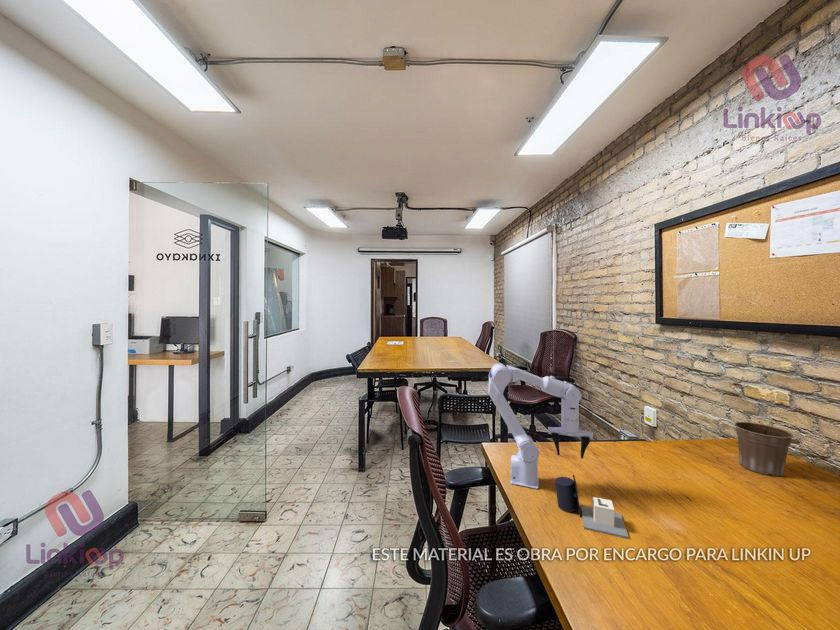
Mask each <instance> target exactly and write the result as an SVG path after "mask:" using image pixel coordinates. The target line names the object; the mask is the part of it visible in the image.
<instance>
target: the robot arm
mask: <svg viewBox="0 0 840 630" xmlns="http://www.w3.org/2000/svg"><path fill="white" fill-rule="evenodd" d="M518 381H521V382H522V381H523V382H525V383H528V384H531V385H534V386H538V387H539V389H540V391H541V392H543V393H546V394H548V395H552V396H554V397H557V398H561V405H560V407H561V410H560V411H561V415H560V417H561V423H560V424H561V426H559V427H558V426H557V427H555V426H554V427H553V426H548V427H547V428H548V429H547V430H548V431H547V432H548V433H547V434H549V435H551V439H552V442H553V443H554V446H555V449H556V455H557V456H560V436H568V437H576V438H578V437H579V438H580V459H584V456H585V453H586V450H587V448H588V447H589V444H590V442H591V441H590V440H594V433H593V431H589V430H588V431H587V430H583V429H580V425H579V424H580V410H579V409H580V407H579V406H580V405H579V403H580V401H581V400H582V396H583V395H582V394H581V390H580V389H579V387H576V386H575V385H573V384H572V383H569V382H568V381H566V380H563V381H562V380H560V379H559V380H558V379H557V378H556V377H555V376H553V375H550V376H548V375H546V376H544V377H540V376H538V375H535V374H533V373H531V372H528V371H526V370H523V369H520V368H518V367H515V366H512V365H507V364H506V365H505V364H504V363H500V362H498V363H495V364H493V365H492V366H491V368H490V371H489V373H488V389H487V390H488V392H487V393H488V395H489V397H490V399H491V400H492V402H493V404H494V406H495V407H496V409H497V411H498V412H499V414H500V416H501V418H502V419H503V421H504V423H505V425H506V426H507V428H508V429H509V431H510V433H511V435H512V436H513V438H514V440H515V441H516V442H515V444H516V446H517V448H518V452H517V454H511V458H510V471H509V472H510V473H509V474H510V482H509V483H510V484H511V485H516V486H521V487H524V488H531V489H535V490H539V483H540V478H539V477H538V472H539V471H538V470H539V469H538V468H539V466H538V465H539V464H538V463H539V461H538V460H539V457H540V450H539V448H538V446H537V445H536V444H535V442H534V440H533V438H532V437H531V436H530V435H528V434H527V433H526V431H525V430H524V428H523V426H522V424H521V422H520V421H519V419H518V417H517V416H516V414H515V413H514V411H513V409H512V408H511V405H510V404H509V403H508V401H507V399H506V398H505V395H504V391H505V389H506V387H507V386H508V384H509V383H510V382H512V383H514V382H518Z"/></svg>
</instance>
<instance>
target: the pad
mask: <svg viewBox="0 0 840 630" xmlns="http://www.w3.org/2000/svg"><path fill="white" fill-rule="evenodd" d="M580 512H581V518H582V523H583V529H585V530H589V531H593V532H598V533H602V534H605V535H610V534H611V536H614V535H615V537H618V536H620V537H619V538H623V537H624V538H623V539H627V538H629V539H630V537H629V534H628V533H629V532H628V531H627V527H626V525H625V523H624V518H623V517H622V513H619V512H614V527H611V526H607V525H602V524H598V523H594V518H593V507H590V506H585V505H580ZM625 537H626V538H625Z"/></svg>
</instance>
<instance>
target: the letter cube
mask: <svg viewBox="0 0 840 630" xmlns="http://www.w3.org/2000/svg"><path fill="white" fill-rule="evenodd" d="M592 508H593V518H594V523H598V524H602V525H607V526H611V527H614V513H615V507H614V503H613V501H612V500H611V499H605V498H601V497H595V496H592Z"/></svg>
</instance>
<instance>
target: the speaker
mask: <svg viewBox="0 0 840 630" xmlns="http://www.w3.org/2000/svg"><path fill="white" fill-rule="evenodd" d="M572 478H573V479H572ZM572 478H570V477H566V476H559V477H557V478H555V480H554V486H555V492H556V499H557V501H556V502H557V506H558V508H559V509H560V510H561V511H564V512H571V513H572V512H574V511H576V510H578V516H579V518H582V511H581V505H580V500H579V494H578V486H577V481H576V476H575V474H572Z"/></svg>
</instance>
